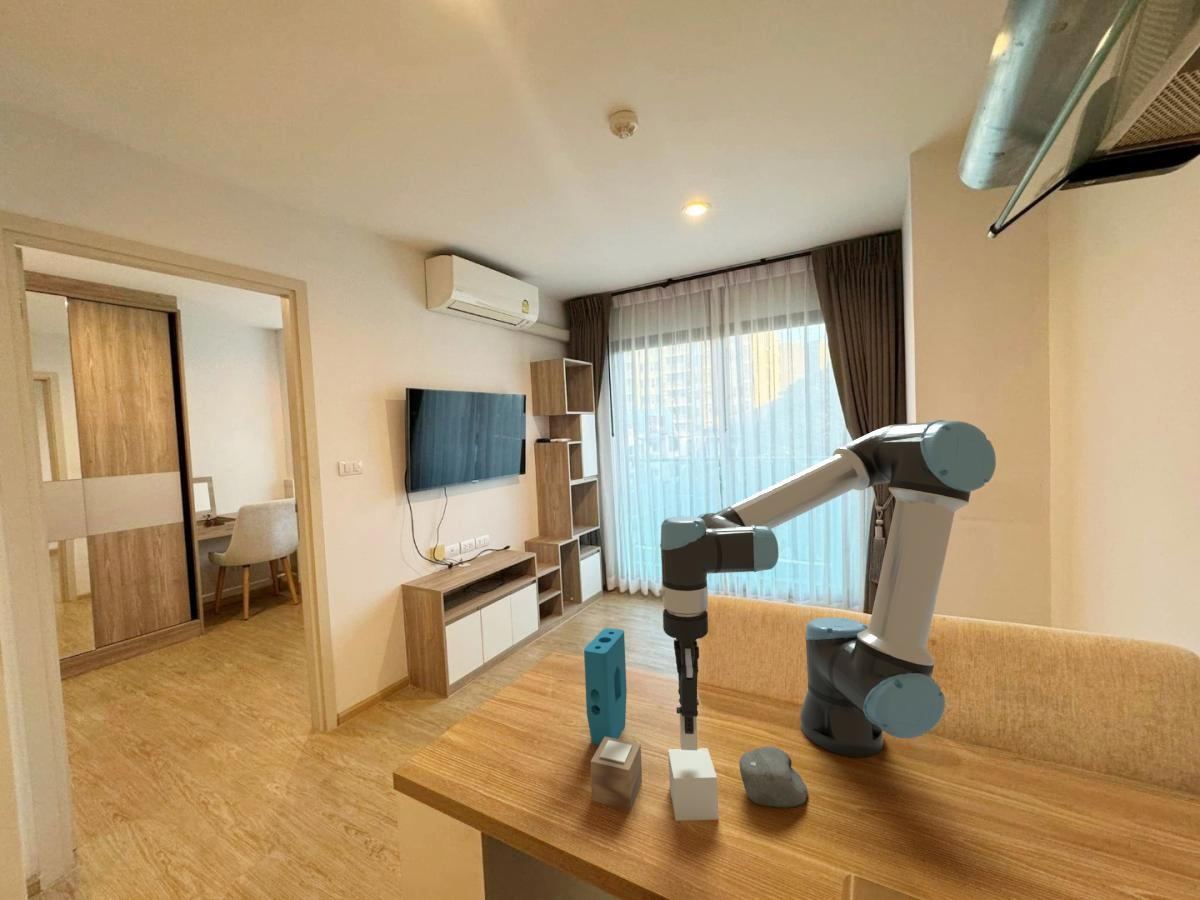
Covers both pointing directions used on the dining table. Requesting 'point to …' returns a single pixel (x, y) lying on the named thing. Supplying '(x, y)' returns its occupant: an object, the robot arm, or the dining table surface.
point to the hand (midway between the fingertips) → (688, 747)
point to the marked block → (616, 773)
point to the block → (606, 684)
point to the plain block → (693, 784)
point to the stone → (771, 778)
